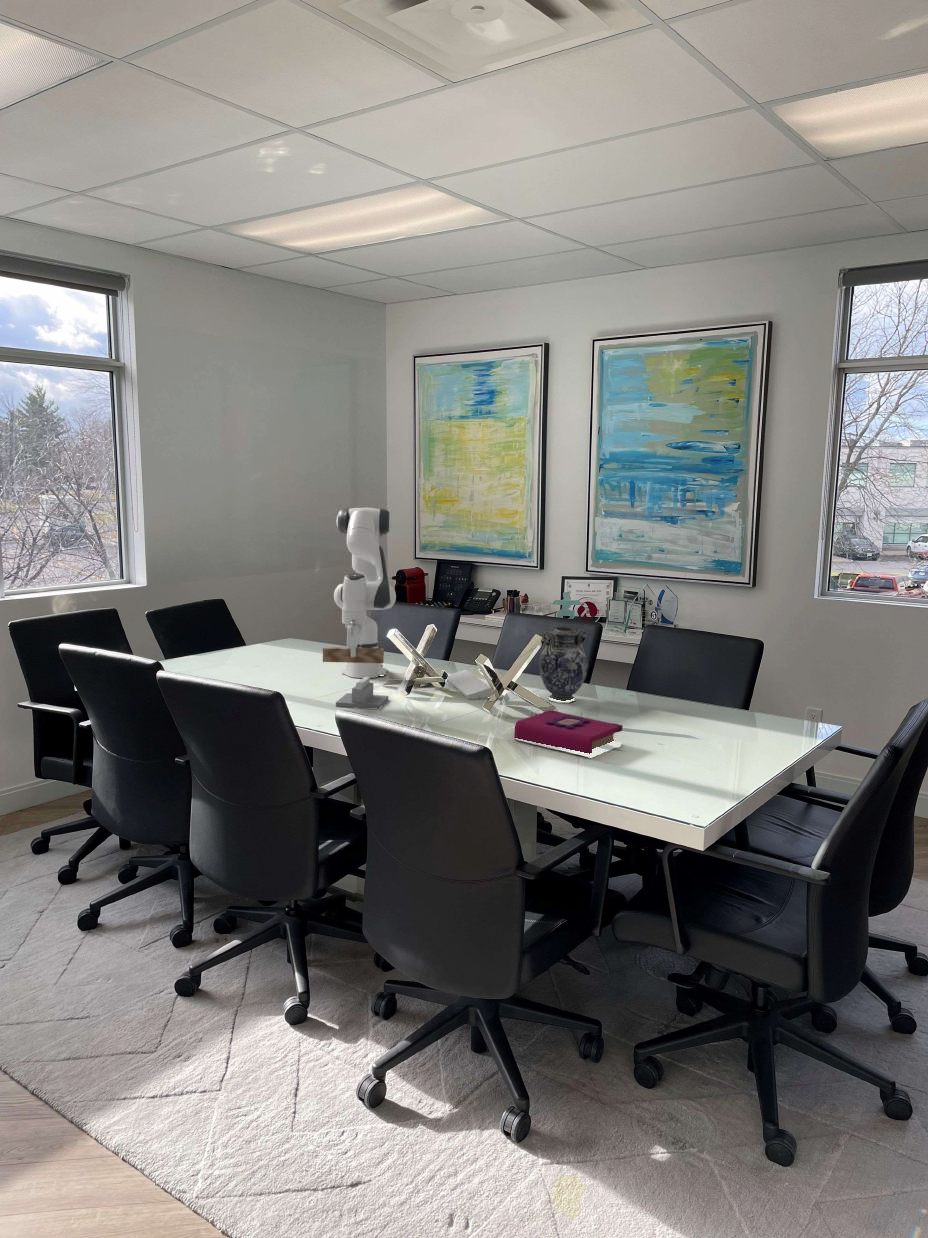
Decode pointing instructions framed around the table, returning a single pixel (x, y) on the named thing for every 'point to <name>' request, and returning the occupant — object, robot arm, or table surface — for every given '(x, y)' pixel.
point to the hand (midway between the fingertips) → (353, 655)
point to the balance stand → (362, 696)
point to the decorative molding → (469, 685)
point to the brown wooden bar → (361, 657)
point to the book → (566, 731)
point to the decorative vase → (563, 662)
